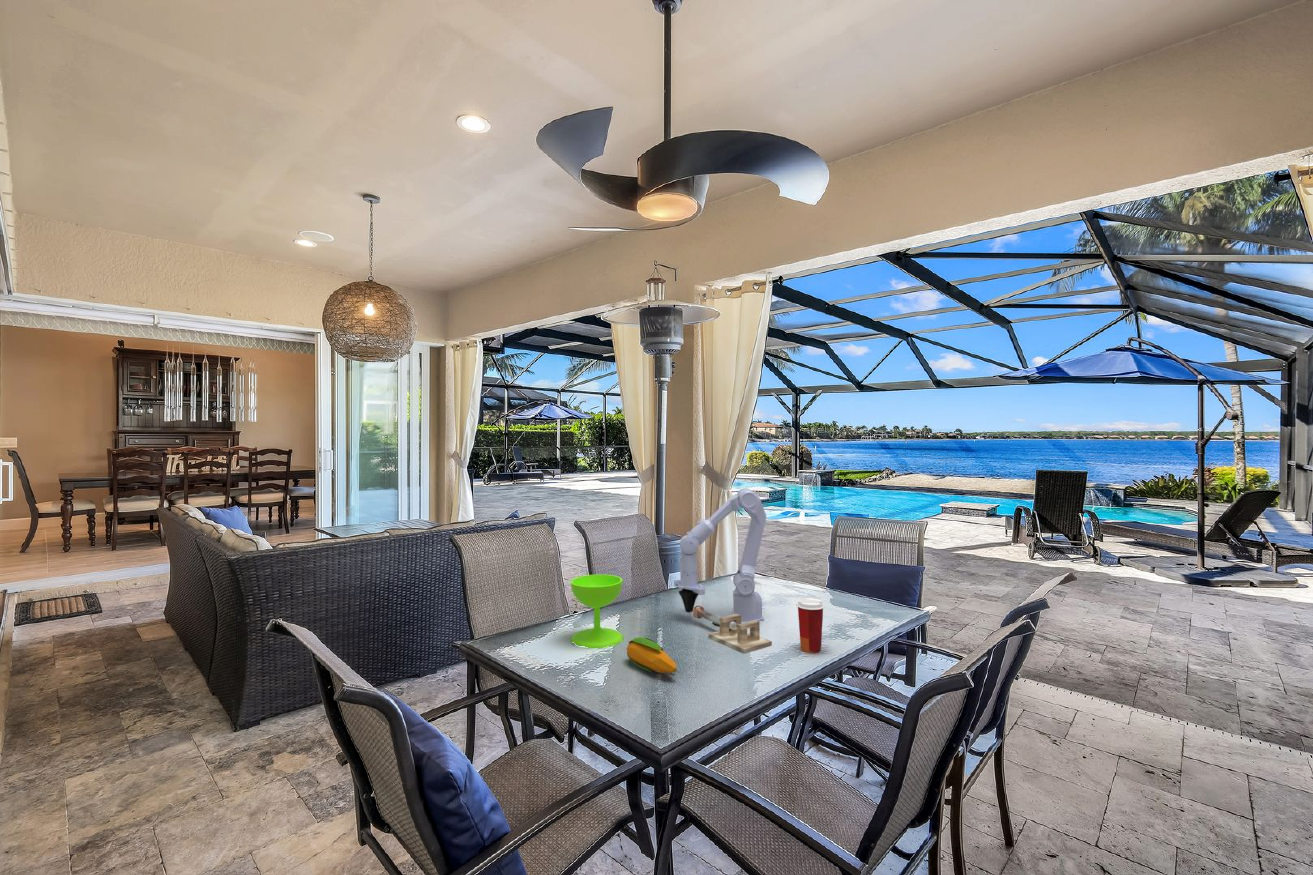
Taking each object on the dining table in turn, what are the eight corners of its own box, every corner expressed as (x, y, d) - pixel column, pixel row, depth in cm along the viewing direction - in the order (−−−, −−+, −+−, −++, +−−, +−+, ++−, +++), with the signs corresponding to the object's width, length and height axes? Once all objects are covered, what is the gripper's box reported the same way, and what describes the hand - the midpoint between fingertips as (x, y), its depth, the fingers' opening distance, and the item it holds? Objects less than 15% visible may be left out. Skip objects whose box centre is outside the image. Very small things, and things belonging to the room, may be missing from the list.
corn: (640, 628, 161) (687, 648, 145) (642, 654, 161) (688, 677, 145) (619, 635, 156) (664, 657, 140) (621, 663, 156) (666, 687, 141)
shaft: (693, 618, 187) (692, 606, 187) (702, 616, 189) (702, 604, 189) (730, 634, 171) (729, 620, 172) (739, 631, 174) (739, 618, 174)
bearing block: (708, 637, 174) (708, 616, 175) (735, 630, 181) (734, 610, 181) (744, 653, 161) (744, 630, 161) (771, 645, 167) (771, 623, 167)
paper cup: (826, 647, 165) (826, 599, 166) (822, 656, 158) (821, 606, 159) (799, 643, 169) (798, 596, 169) (794, 652, 162) (793, 603, 162)
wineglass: (567, 633, 179) (566, 576, 179) (616, 628, 184) (615, 572, 184) (575, 651, 164) (575, 589, 164) (629, 644, 169) (628, 584, 169)
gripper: (666, 569, 195) (667, 608, 195) (692, 577, 183) (693, 619, 183) (683, 566, 199) (683, 604, 199) (709, 574, 187) (709, 615, 187)
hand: (689, 611), depth 192 cm, fingers closed
